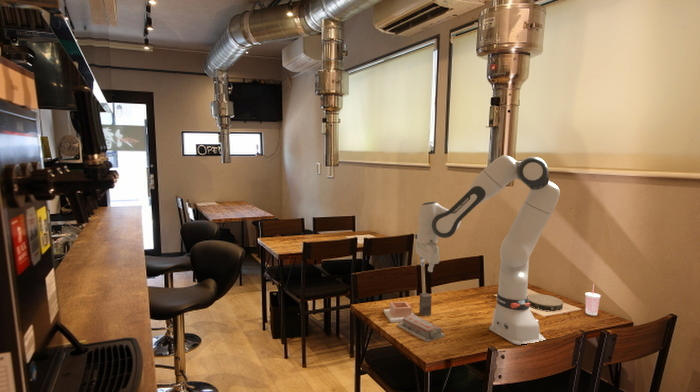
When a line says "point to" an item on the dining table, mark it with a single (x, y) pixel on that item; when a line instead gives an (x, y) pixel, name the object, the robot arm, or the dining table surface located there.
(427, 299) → the peg
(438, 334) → the packaged product
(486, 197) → the robot arm
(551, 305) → the grey round disc
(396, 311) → the square socket base
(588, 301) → the beverage cup
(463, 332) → the dining table surface
